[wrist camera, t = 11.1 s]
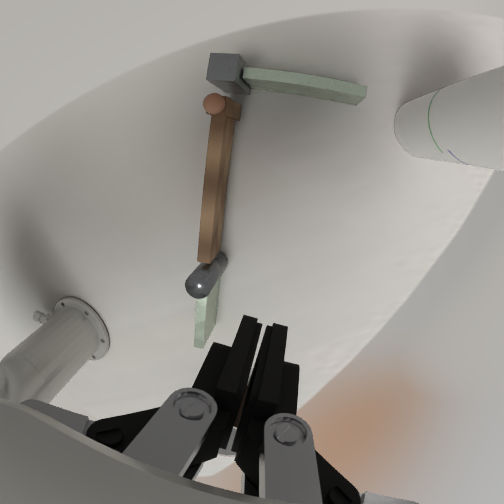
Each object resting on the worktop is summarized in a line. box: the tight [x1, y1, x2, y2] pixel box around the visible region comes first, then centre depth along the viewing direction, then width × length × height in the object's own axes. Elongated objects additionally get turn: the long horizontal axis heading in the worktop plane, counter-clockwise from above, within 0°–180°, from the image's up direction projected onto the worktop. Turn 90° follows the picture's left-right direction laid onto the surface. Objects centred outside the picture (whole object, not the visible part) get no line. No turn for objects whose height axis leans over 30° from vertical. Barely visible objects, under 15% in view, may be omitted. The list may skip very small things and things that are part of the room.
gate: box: [197, 93, 241, 264], centre depth 32 cm, size 17×2×9 cm, turn 172°
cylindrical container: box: [394, 66, 504, 171], centre depth 19 cm, size 7×7×25 cm
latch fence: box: [206, 53, 367, 106], centre depth 28 cm, size 15×3×8 cm, turn 82°
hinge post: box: [185, 251, 228, 349], centre depth 38 cm, size 3×11×8 cm, turn 172°
